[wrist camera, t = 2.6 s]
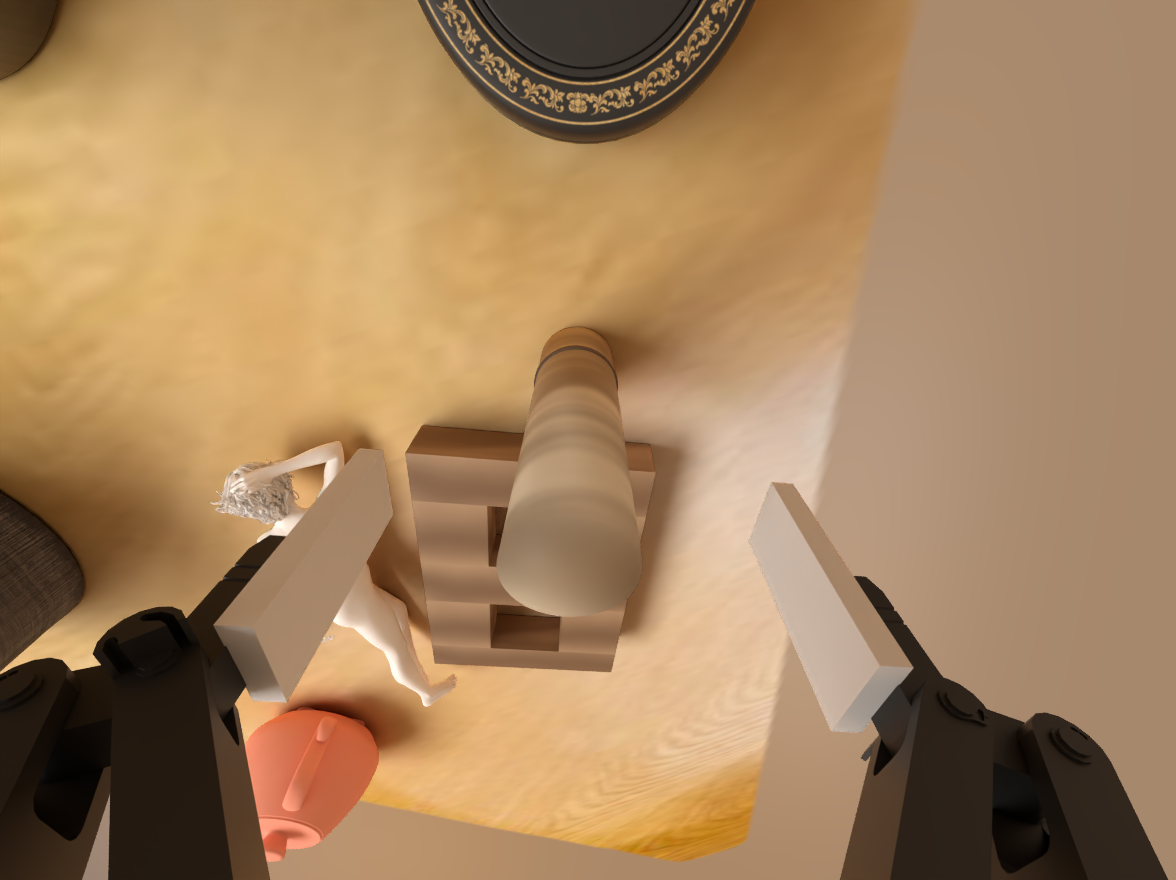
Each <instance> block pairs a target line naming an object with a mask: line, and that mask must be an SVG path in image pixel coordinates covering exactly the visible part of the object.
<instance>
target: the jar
mask: <svg viewBox="0 0 1176 880" xmlns="http://www.w3.org/2000/svg"><path fill="white" fill-rule="evenodd" d="M418 2H419V4H420V6H421V8H422V10H423V12H424V14H425V16H426V18H427V20H428V22H429V24H430V26H431V28H432V29H433V31H434V33H435V35H436V36H437V38H438V40H439V41H440V43H441V44H442V46H443V47H444V49H445V50H446V52H447V53H448V55H449V56H450V58H451V59H452V60H453V62H454V63H455V64H456V66H457V67H458V68H459V70H460V71H461V73H462V74H463V75H464V77H465V78H466V79H467V81H468V82H469V83H470V84H471V85H472V86H473V87H474V88H475V89H476V91H477V92H478V93H479V94H480V95H481V96H482V97H483V98H484V99H485V100H486V101H487V102H488V103H490V104H491V105H492V106H493V107H494V108H495V109H497V110H498V111H499V112H500V113H501V114H503V115H504V116H506V117H507V118H509V119H510V120H512V121H513V122H515V123H516V124H518V125H519V126H521V127H523V128H525V129H527V130H529V131H531V132H534V133H536V134H538V135H540V136H543V137H547V138H550V139H553V140H556V141H561V142H568V143H574V144H599V143H605V142H610V141H616V140H619V139H622V138H625V137H628V136H631V135H634V134H637V133H639V132H641V131H643V130H644V129H646V128H648V127H650V126H652V125H654V124H656V123H657V122H659V121H660V120H662V119H663V118H665V117H666V116H667V115H669V114H670V113H672V112H673V111H674V110H675V109H677V108H678V107H679V106H680V105H681V104H682V103H683V102H684V101H685V100H687V99H688V98H689V97H690V96H691V95H692V94H693V92H694V91H695V90H696V89H697V88H698V87H699V86H700V85H701V84H702V83H703V82H704V81H705V80H706V78H707V77H708V76H709V75H710V74H711V73H712V71H713V70H714V69H715V67H716V66H717V65H718V64H719V62H720V61H721V59H722V58H723V57H724V55H725V54H726V52H727V51H728V50H729V48H730V46H731V45H732V43H733V42H734V40H735V38H736V37H737V35H738V33H739V32H740V30H741V28H742V26H743V24H744V23H745V21H746V19H747V17H748V15H749V13H750V11H751V9H752V6H753V4H754V2H755V0H418Z"/></svg>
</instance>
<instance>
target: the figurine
mask: <svg viewBox="0 0 1176 880" xmlns="http://www.w3.org/2000/svg"><path fill="white" fill-rule="evenodd" d="M266 460H268V461H270V463H271V464H270V463H263V462H255V463H252V462H251V463H246V465H245V464H243V465H241V466H239V467H238V468H237V469H236V470H234V471H233V472H231V473H230V474H229V475H228V476H227V477H226V480H225V484H224V487H223V490H222V495H221V494H219V493H218V492H217V491H216V492H217V493H218V494H219V495H220V496H221V497H222V500H220V501H219V502H209V503H211V504H214V505H216V504H219V505H222V504H224V505H223V506H220V507H218V508H221V509H218V508H217V509H215V511H218V512H219V513H225V512H227V513H228V512H230V513H229V514H231V513H232V514H231V515H233V514H234V515H237V516H242V517H243V518H244V517H248V516H251V517H249V518H252V519H258V520H260V521H261V523H265V524H269V523H270V524H275V526H274V528H271V529H270V530H269V531H268V532H266V533H264V534H263V535H261V536H260V537H259V538H258V540H257V543H258V542H260V541H261V540H263V539H264V538H266V537H267V536H269V535H277V536H287V535H288V534H289V533H290V531H291V530H292V529H293V528H294V527H295V525H296V524H297V523H298V522H299V520H300V519H301V518H302V517H303V516H304V514H305V513H306V512H307V511H308V510H309V508H310V507H309V508H302V507H300V506H298V505H297V504H296V503H295V499H296V497H295V496H294V494H293V492H295V491H294V490H292V489H293V486H292V483H291V479H290V477H291V478H292V479H294V477H293V475H292V474H289V473H290V471H293V470H297V469H301V468H305V467H309V466H313V465H317V464H321V463H325V462H326V466H325V470H324V484H323V487H322V489H321V490H320V492H319V494H318V496H317V498H316V500H317V499H318V497H319V496H320V495H321V494H322V493H323V491H324V490H325V489H326V488H327V486H328V485H329V484H330V483H331V482H332V480H333V479H334V478H335V477H336V476H337V474H338V473H339V472H340V471H341V469H342V468H343V467H344V466H345V462H344V453H343V447H342V444H341V442H340V441H335V442H331V443H327V444H324V445H321V446H318V447H315V448H312V449H310V450H307V451H305V452H303V453H301V454H299V455H297V456H295V457H293V458H290V459H288V460H285V461H282V460H278V461H275V463H277V464H275V463H274V462H272V461H271V460H270V459H266ZM287 472H288V473H287ZM223 492H224V495H223ZM295 493H296V494H297V492H295ZM297 496H298V499H299V495H298V494H297ZM298 499H296V500H298ZM219 510H222V511H223V512H221V511H219ZM224 510H225V511H224ZM235 512H236V513H235ZM266 522H269V523H266ZM333 622H334V623H336V624H338V625H340V626H344V627H353V628H354V629H355V630H356V631H358V632H359V633H360V634H361V635H362V636H363V637H364V638H365V639H367V640H368V641H369V642H370V643H372V644H373V645H374V646H376V647H377V648H379V649H381V650H383V651H384V653H385V655H386V657H387V658H388V660H389V663H390V667H391V671H392V674H393V676H394V678H395V679H396V681H398V682H399V683H400V684H403V685H405V686H406V687H408V688H410V689H412V690H414V691H415V692H417V693H418V694H419V695H420V696H421V698H422V702H423V705H424V706H426V707H428V706H431V705H432V704H433V703H435V702H436V701H437V700H438V699H440V698H441V697H443V696H444V695H446V694H448V693H449V692H450V691H451V690H452V689H453V688H455V687H456V685H455V684H456V681H457V679H456V677H455V674H452V675H451V676H449V677H448V678H446V679H444V680H443V681H441V682H439V683H437V684H435V685H431V684H430V681H429V678H428V676H427V674H426V673H425V671H424V669H423V668H422V666H421V664H420V662H419V660H418V657H417V654H416V651H415V648H414V644H413V640H412V636H411V631H410V626H409V620H408V612H407V607H406V605H405V603H404V602H403V601H401V600H399V599H398V598H396V597H394V596H393V595H391V594H389V593H388V592H386V591H384V590H382V589H381V588H379V587H377V586H375V585H373V584H372V579H371V575H370V569H369V566H368V565H367V563H366V564H365V565H364V567H363V569H362V571H361V572H360V574H359V576H358V578H357V580H356V581H355V583H354V585H353V587H352V588H351V590H350V592H349V594H348V595H347V597H346V599H345V601H344V603H343V604H342V606H341V608H340V610H339V611H338V613H337V615H336V617H335V618H334V620H333ZM333 637H335V636H329V637H328V638H326V637H324V638H323V640H322V641H321V642H326V641H328V640H332V639H333Z"/></svg>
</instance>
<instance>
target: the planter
mask: <svg viewBox="0 0 1176 880" xmlns="http://www.w3.org/2000/svg"><path fill="white" fill-rule="evenodd" d="M82 593H83V578H82V574H81V571H80V568H79V566H78V564H77V562H76V560H75V559H74V557H73V555H72V554H71V553H70V551H69V550H68V548H67V547H66V546H65V545H64V544H63V542H62V541H61V540H60V539H59V538H58V537H57V536H56V535H55V534H54V533H53V532H52V531H51V530H50V529H49V528H48V527H47V526H46V525H45V524H43V523H42V522H41V521H40V520H39V519H37V518H36V517H35V516H34V515H32V514H31V513H30V512H28V511H27V510H26V509H24V508H23V507H22V506H20V505H19V504H17V503H16V502H14V501H13V500H11V499H10V498H8V497H6V496H5V495H3V494H1V493H0V671H2V670H3V669H4V668H5V667H6V666H7V665H8V664H9V663H10V662H12V661H13V660H14V659H15V658H16V657H17V656H18V655H19V654H21V653H22V652H23V651H24V650H25V649H26V648H28V647H29V646H30V645H31V644H32V643H33V642H34V641H35V640H37V639H38V638H39V637H40V636H41V635H42V634H43V633H44V632H46V631H47V630H48V629H49V628H50V627H52V626H53V625H54V624H55V623H56V622H58V621H59V620H60V619H62V618H63V617H64V616H65V615H67V614H68V613H69V612H70V611H71V610H72V609H73V608H74V607H75V606H76V605H77V604H78V603H79V601H80V599H81V597H82Z"/></svg>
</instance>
